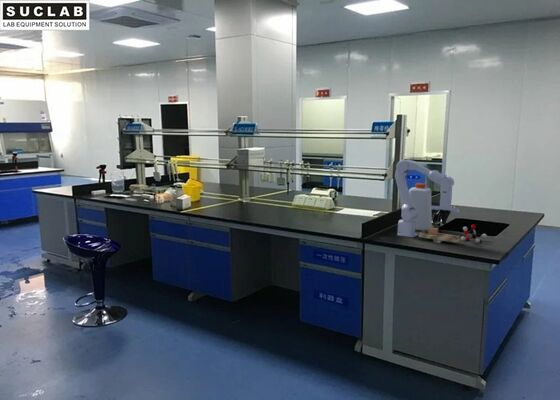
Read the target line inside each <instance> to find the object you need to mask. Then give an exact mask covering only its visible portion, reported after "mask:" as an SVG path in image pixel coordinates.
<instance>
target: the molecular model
mask: <svg viewBox="0 0 560 400" xmlns="http://www.w3.org/2000/svg"><path fill="white" fill-rule="evenodd" d="M470 226H471V227H470V228H471V229H470V230H468V227H467V226H463V227H462V230H463V235H466V237H465V236H461V237H460V240H461V241H467V242H468V241H470V240H471V239H474V240H475V242H476V243H480V241H481V239H480V237H482V238H484V239H485V238H487V236H488V235H487V234H486V233H482V234H481V233H477V232H476V230H475V228H476V224H472V225H470ZM469 233H470V234H471V237H469V236H467V235H468V234H469Z"/></svg>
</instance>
